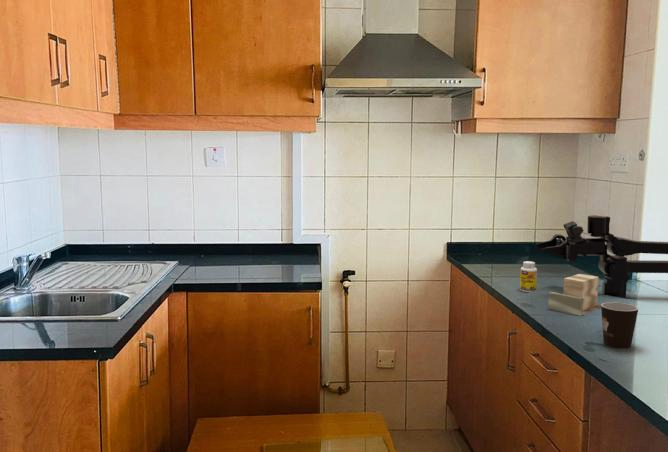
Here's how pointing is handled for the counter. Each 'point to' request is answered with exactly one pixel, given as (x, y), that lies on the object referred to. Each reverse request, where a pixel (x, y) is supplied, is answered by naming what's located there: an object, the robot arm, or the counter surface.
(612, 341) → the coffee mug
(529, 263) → the supplement bottle
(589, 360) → the counter surface
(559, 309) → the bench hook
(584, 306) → the block
